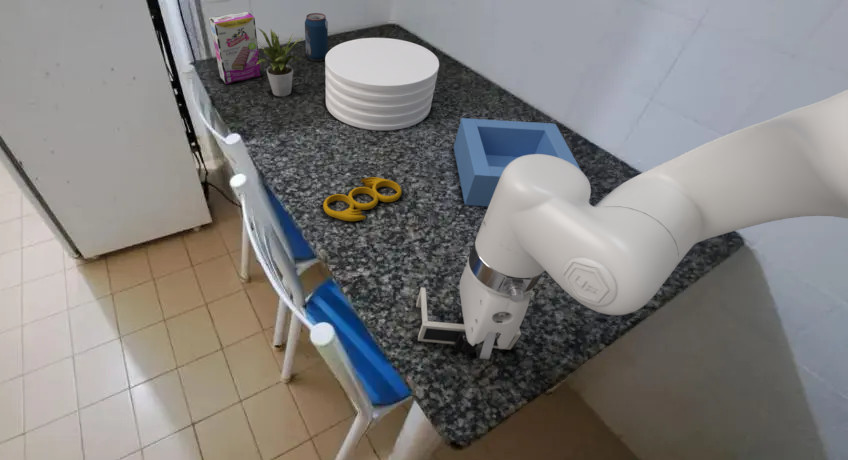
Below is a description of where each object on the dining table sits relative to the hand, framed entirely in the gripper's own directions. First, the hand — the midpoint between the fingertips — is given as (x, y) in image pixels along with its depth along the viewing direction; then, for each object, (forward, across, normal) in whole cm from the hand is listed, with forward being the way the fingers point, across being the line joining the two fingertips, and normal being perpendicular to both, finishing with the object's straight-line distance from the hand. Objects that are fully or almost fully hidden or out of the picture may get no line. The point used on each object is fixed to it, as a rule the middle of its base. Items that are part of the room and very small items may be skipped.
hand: (464, 341), depth 56 cm
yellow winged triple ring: (+1, +29, +16) cm, 33 cm away
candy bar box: (+1, +79, +54) cm, 96 cm away
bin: (0, +40, -14) cm, 42 cm away
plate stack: (+1, +69, +14) cm, 70 cm away
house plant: (+1, +72, +42) cm, 83 cm away
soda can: (+1, +96, +34) cm, 102 cm away
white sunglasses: (0, +3, 0) cm, 3 cm away
